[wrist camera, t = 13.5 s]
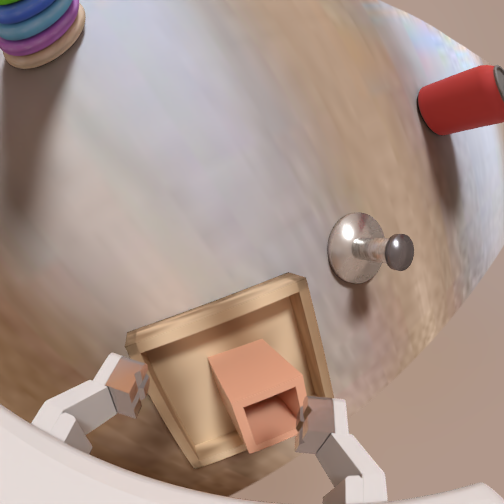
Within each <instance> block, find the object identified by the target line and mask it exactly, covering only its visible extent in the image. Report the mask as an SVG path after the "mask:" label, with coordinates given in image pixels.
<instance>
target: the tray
mask: <svg viewBox="0 0 504 504" xmlns="http://www.w3.org/2000/svg"><path fill="white" fill-rule="evenodd" d="M260 339H263V340H264V341H265V342H266V343H268V344H269V345H270V346H271V347H272V348H273V349H274V350H275V351H276V352H278V353H279V354H280V355H281V356H282V357H283V358H284V359H285V360H287V361H288V362H289V363H290V364H291V365H292V366H293V367H294V368H296V369H297V370H298V371H299V372H300V373H301V374H302V375H303V378H304V383H305V389H306V394H307V396H315V397H327V398H334V395H333V391H332V386H331V381H330V377H329V372H328V368H327V363H326V359H325V354H324V350H323V346H322V341H321V337H320V333H319V329H318V324H317V320H316V316H315V312H314V308H313V304H312V300H311V296H310V292H309V288H308V284H307V280H306V278H305V277H302V276H299V275H295V274H292V273H289V272H288V273H285V274H283V275H280V276H278V277H275V278H273V279H270V280H268V281H265V282H263V283H260V284H257V285H255V286H252V287H250V288H247V289H244V290H242V291H239V292H237V293H234V294H231V295H229V296H226V297H223V298H221V299H218V300H216V301H213V302H210V303H208V304H205V305H202V306H199V307H197V308H194V309H191V310H189V311H186V312H183V313H180V314H178V315H175V316H172V317H169V318H167V319H164V320H161V321H158V322H155V323H153V324H150V325H147V326H144V327H141V328H138V329H136V330H133V331H130V332H127V338H126V343H125V348H126V350H127V352H128V354H129V356H130V358H131V359H133V360H136V361H139V362H142V363H145V364H147V366H148V371H147V375H148V376H149V378H150V386H149V390H148V394H149V396H150V398H151V399H152V401H153V403H154V405H155V407H156V408H157V410H158V412H159V414H160V415H161V417H162V419H163V421H164V422H165V424H166V426H167V427H168V429H169V431H170V432H171V434H172V436H173V437H174V439H175V440H176V442H177V444H178V445H179V447H180V448H181V450H182V451H183V453H184V454H185V456H186V457H187V459H188V460H189V462H190V463H191V465H192V466H193V468H194V469H197V468H200V467H203V466H205V465H208V464H211V463H214V462H217V461H219V460H222V459H225V458H227V457H230V456H233V455H235V454H238V453H240V452H243V451H245V450H247V448H246V447H245V445H244V443H243V441H242V439H241V437H240V435H239V433H238V432H237V430H236V428H235V426H234V424H233V422H232V420H231V418H230V416H229V414H228V412H227V410H226V408H225V406H224V404H223V401H222V399H221V396H220V393H219V390H218V387H217V385H216V382H215V379H214V376H213V373H212V370H211V367H210V364H209V361H208V358H207V357H210V356H213V355H216V354H219V353H222V352H225V351H228V350H231V349H234V348H237V347H240V346H243V345H245V344H248V343H251V342H254V341H257V340H260Z"/></svg>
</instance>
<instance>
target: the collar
mask: <svg viewBox="0 0 504 504" xmlns="http://www.w3.org/2000/svg"><path fill="white" fill-rule="evenodd" d="M207 358H208V361H209V364H210V367H211V370H212V373H213V376H214V379H215V382H216V385H217V387H218V390H219V393H220V396H221V399H222V401H223V404H224V406H225V408H226V410H227V412H228V414H229V416H230V418H231V420H232V422H233V424H234V426H235V428H236V430H237V432H238V433H239V435H240V437H241V439H242V441H243V443H244V445H245V447H246V448H247V450H248V452H249V454H251V453H254V452H257V451H259V450H262V449H264V448H267V447H269V446H272V445H274V444H277V443H279V442H281V441H284V440H286V439H288V438H291V437H293V436H295V435H297V434H298V431H297V430H296V419H297V415H298V411H299V409H300V407H302V406H303V400H304V398H305V397H306V396H307V394H306V389H305V383H304V378H303V375H302V374H301V373H300V372H299V371H298V370H297V369H296V368H294V367H293V366H292V365H291V364H290V363H289V362H288V361H287V360H285V359H284V358H283V357H282V356H281V355H280V354H279V353H278V352H276V351H275V350H274V349H273V348H272V347H271V346H270V345H269V344H268V343H266V342H265V341H264V340H263V339H260V340H257V341H254V342H251V343H248V344H245V345H243V346H240V347H237V348H234V349H231V350H228V351H225V352H222V353H219V354H216V355H213V356H210V357H207Z"/></svg>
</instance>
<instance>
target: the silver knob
mask: <svg viewBox="0 0 504 504" xmlns="http://www.w3.org/2000/svg"><path fill="white" fill-rule="evenodd" d="M413 256H414V247H413V243H412V241H411V239H410V238H409V237H408V236H407V235H405V234H395V235H393V236H391V237H390V238H389V239H385V238H384V234H383V231H382V229H381V227H380V225H379V224H378V222H377V221H376V220H375V219H374V218H373V217H371V216H370V215H368V214H365V213H351V214H348V215H345V216H344V217H342V218H341V219H340V220H339V221H338V222H337V223H336V224H335V226H334V227H333V229H332V231H331V233H330V236H329V240H328V258H329V262H330V265H331V267H332V269H333V271H334V272H335V273H336V275H337V276H338V277H339V278H341V279H342V280H344V281H347V282H350V283H356V284H358V283H364V282H366V281H368V280H370V279H371V278H372V277H373V276H374V275H375V274H376V273H377V272H378V270H379V269H380V267H381V265H382V263H387V264H388V266H389V267H390V268H391V269H393V270H398V271H403V270H406V269H407V268H408V267H409V266H410V264H411V262H412V260H413Z"/></svg>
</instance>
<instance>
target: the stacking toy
mask: <svg viewBox="0 0 504 504" xmlns="http://www.w3.org/2000/svg"><path fill="white" fill-rule="evenodd" d="M84 24H85V11H84V8H83V6H82V5H81V4H80V3H79V0H0V48H1V49H2V51H3V54H4V57H5V59H6V60H7V62H8V63H9V64H10V65H12V66H14V67H16V68H21V69H29V68H35V67H38V66H41V65H44V64H46V63H48V62H50V61H52V60H54V59H56V58H57V57H59V56H60V55H62V54H63V53H64V52H65V51H66V50H68V49H69V48H70V47H71V46H72V45H73V43H74V42H75V41H76V40H77V38H78V37H79V35H80V34H81V32H82V30H83V27H84Z"/></svg>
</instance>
